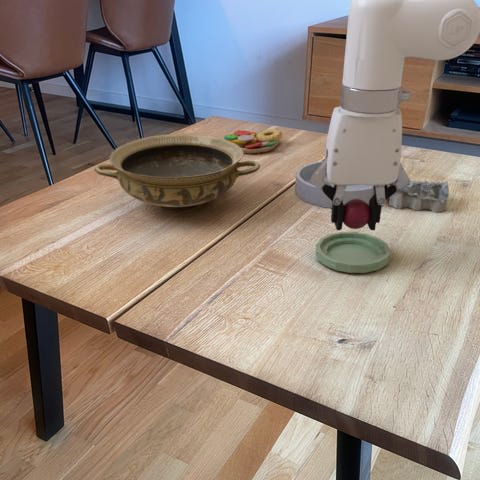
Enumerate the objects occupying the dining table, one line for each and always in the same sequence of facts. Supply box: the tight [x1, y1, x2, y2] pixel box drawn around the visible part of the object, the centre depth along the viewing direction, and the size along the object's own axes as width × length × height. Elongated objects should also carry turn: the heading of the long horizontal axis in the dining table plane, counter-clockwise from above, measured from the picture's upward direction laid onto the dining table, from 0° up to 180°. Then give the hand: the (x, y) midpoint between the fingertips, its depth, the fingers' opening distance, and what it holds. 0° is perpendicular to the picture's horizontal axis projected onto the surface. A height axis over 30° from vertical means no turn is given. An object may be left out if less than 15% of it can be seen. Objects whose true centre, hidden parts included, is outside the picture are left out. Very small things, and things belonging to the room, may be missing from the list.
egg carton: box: [388, 180, 450, 213], centre depth 103 cm, size 11×8×4 cm
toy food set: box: [223, 128, 283, 154], centre depth 134 cm, size 13×13×3 cm
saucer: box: [315, 231, 392, 274], centre depth 86 cm, size 11×11×2 cm
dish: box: [294, 160, 385, 209], centre depth 109 cm, size 17×18×4 cm
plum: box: [342, 199, 371, 230], centre depth 83 cm, size 4×4×4 cm
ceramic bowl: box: [94, 133, 261, 213], centre depth 103 cm, size 30×24×10 cm
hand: (354, 225), depth 84 cm, fingers closed on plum, 4 cm apart
